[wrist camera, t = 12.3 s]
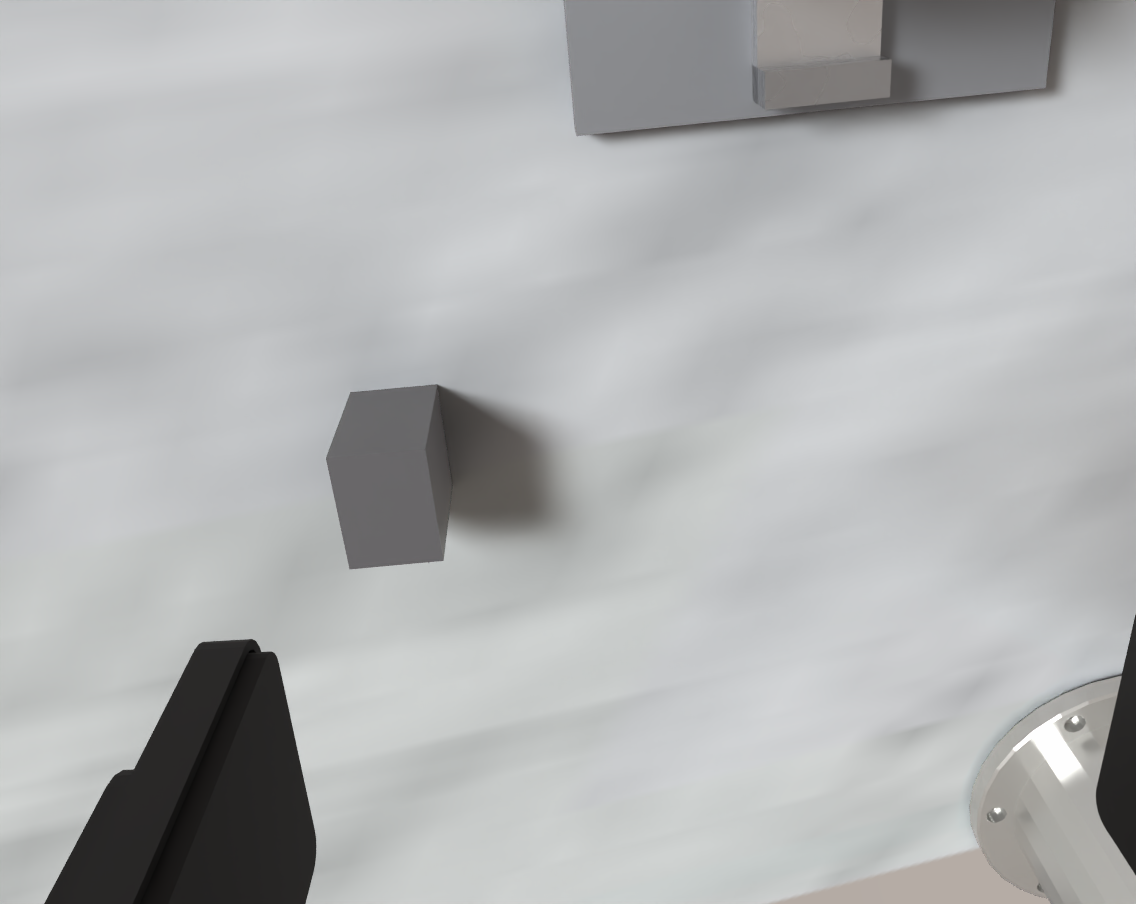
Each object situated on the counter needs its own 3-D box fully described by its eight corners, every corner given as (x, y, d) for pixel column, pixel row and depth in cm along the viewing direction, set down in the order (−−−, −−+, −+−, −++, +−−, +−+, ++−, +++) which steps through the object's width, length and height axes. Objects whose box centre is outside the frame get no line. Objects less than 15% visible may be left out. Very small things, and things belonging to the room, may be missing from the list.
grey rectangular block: (437, 384, 35) (425, 449, 31) (452, 485, 37) (443, 560, 33) (350, 391, 35) (326, 457, 31) (370, 493, 37) (349, 569, 33)
